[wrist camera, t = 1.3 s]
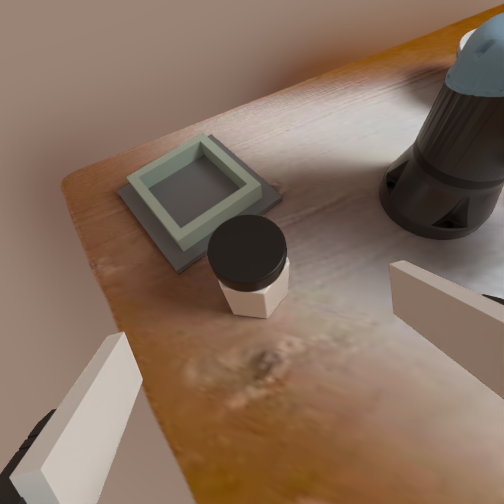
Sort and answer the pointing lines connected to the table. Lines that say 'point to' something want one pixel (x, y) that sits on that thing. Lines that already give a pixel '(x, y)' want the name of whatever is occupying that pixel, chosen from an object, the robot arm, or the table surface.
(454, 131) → the robot arm
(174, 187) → the green and grey tray
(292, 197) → the table surface
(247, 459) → the table surface
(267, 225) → the jar
